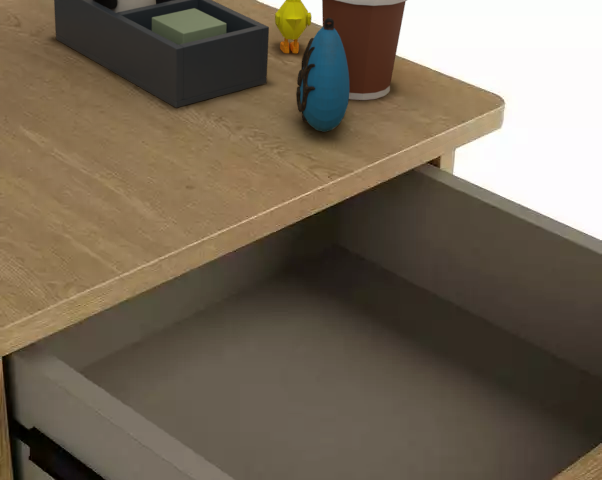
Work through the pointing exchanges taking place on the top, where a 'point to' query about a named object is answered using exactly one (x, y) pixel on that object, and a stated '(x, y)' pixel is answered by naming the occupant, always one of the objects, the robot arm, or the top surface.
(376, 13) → the coffee cup
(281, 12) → the toy figure
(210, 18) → the sage block
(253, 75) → the dark grey divided tray
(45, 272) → the top surface
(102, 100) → the top surface
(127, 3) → the white cylinder
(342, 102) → the ornament
